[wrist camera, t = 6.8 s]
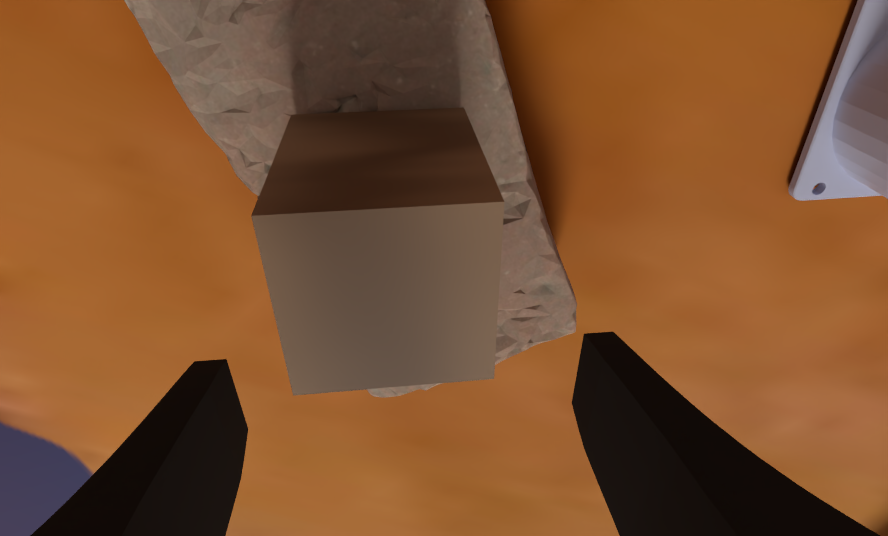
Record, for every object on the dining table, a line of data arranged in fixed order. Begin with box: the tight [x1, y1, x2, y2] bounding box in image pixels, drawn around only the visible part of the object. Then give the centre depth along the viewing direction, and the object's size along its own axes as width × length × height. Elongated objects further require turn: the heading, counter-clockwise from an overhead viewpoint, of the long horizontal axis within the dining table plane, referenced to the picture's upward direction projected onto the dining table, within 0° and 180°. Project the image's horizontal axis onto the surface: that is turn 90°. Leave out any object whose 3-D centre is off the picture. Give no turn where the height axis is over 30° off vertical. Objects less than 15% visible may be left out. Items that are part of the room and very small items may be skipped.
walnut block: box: [252, 107, 504, 395], centre depth 13 cm, size 4×4×6 cm
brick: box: [124, 0, 577, 397], centre depth 17 cm, size 16×8×5 cm, turn 20°
